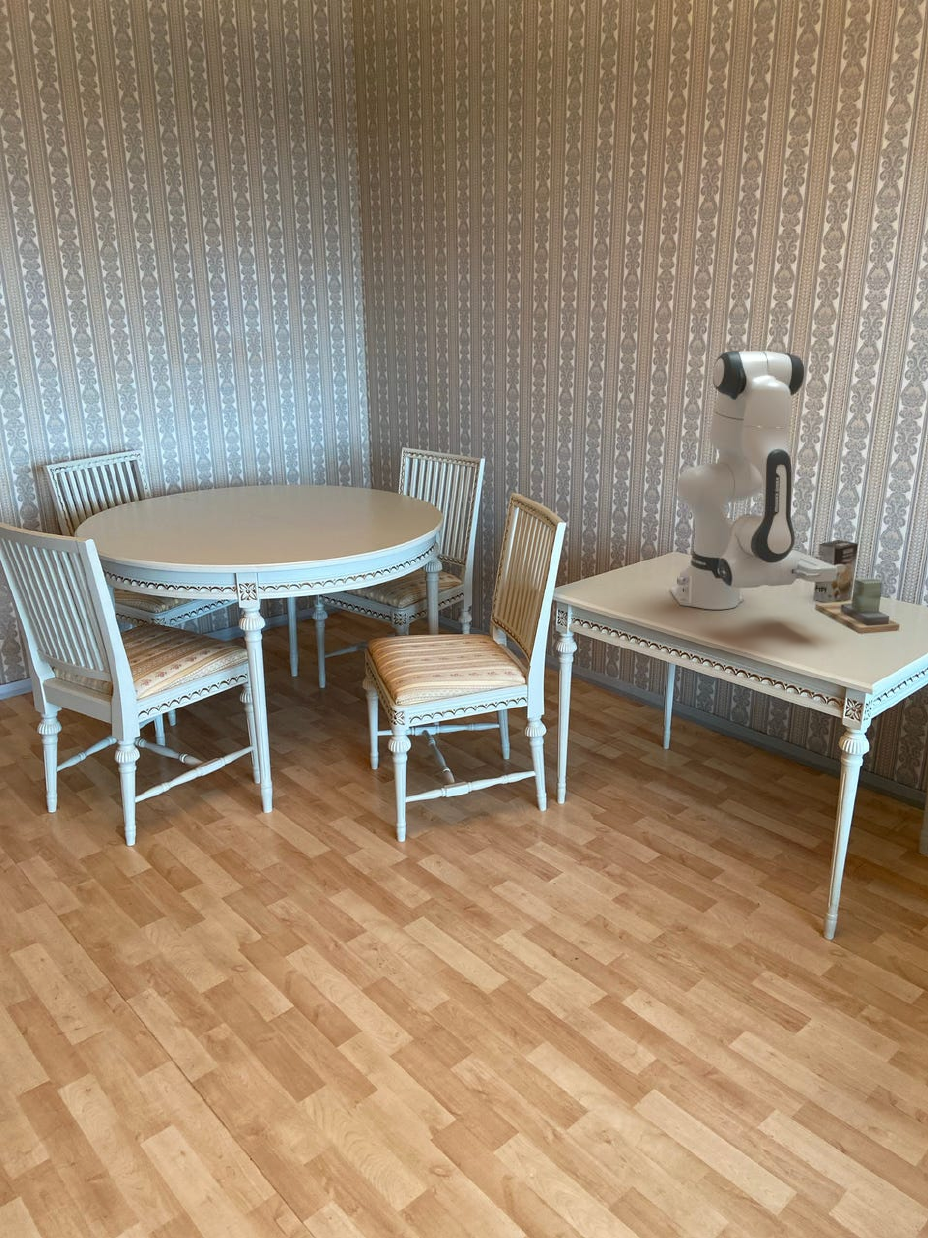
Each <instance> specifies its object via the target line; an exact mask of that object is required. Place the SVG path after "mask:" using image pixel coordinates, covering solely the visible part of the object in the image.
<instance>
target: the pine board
mask: <svg viewBox="0 0 928 1238" xmlns="http://www.w3.org/2000/svg"><path fill="white" fill-rule="evenodd" d="M841 604H852V600H845V601H841V602H831V603H825V602H818V603H815V606H814V609H815V610H816V611H818V612H820V613H822V614H824V615H825V616H827V617H828V618H831V619H833V620H835V621H836V622H838V623H840V624H842V625H844V626H846V627H848V628H850V629H851V630H853V631H855V632H856V633H857V634H870V633H880V632H889V631H888V630H893V631H897V630H896V629H899V630H900V626H901V625H900V623H898V622H895V621H893V620H891V619H890V618H889V623H888V624H881V625H869V626H867V625H865V624H863V623H861V622H859V621H857V620H855V619H854V618H852V617H850V616H848V615H846V614H844V613H842V612H840V611H841Z"/></svg>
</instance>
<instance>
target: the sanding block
mask: <svg viewBox="0 0 928 1238" xmlns="http://www.w3.org/2000/svg"><path fill="white" fill-rule="evenodd" d="M882 589H883V581H880V580H878V579H876V578H874V577H863V578H861V577H860V578H855V579H854V580H853V588H852V596H851V601H852V604H841V611H840V612H842V613H844V614H846V615H848V616H850V617H852V618H854V619H855V620H857V621H859V622H861V623H863V624H865V625H867V626H869V625H881V624H888V623H889V619H890V616H889V615H888V614H885V613H884V612H882V611H880V604H881V598H882V597H881V596H882Z"/></svg>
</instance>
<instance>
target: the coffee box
mask: <svg viewBox="0 0 928 1238" xmlns="http://www.w3.org/2000/svg"><path fill="white" fill-rule="evenodd" d="M858 546H859V543H857V542H851V541H845V540H842V539H841V540H840V539H837V540H831V541H828V542H823V543H819V546H818V553H817V556H822V557H824V562H826V563H829V564H832V565H836V564H843V565H845V571H844V572H839V573H837V578H836V580H834V581H827V582H814V590H813V597H812V599H813V600H814V601H819V602H821V603H831V602H843V601H849V600H852V596H853V588H854V580H855V579H854V578H855V569H856V560H857V555H858Z"/></svg>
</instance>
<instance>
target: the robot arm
mask: <svg viewBox="0 0 928 1238" xmlns="http://www.w3.org/2000/svg"><path fill="white" fill-rule="evenodd" d="M804 379H805V365H804V363H803V360H802V358H800V356H798V355H796V354H792V353H788V352H786V353H785V352H784V353H782V352H776V351H767V350H760V351H759V350H757V351H755V350H752V351H750V350H749V351H747V350H746V351H738V350H729V351H726V352H722V353H721V354H720V355H719V356H718V357H717V359H716V361H715V363H714V367H713V371H712V383H713V386H714V388H715V389H716V390H717V391H718V395H717V398H716V402H715V406H714V409H713V410H714V411H713V416H712V420H711V424H710V430H709V434H708V439H709V441H710V443H711V445H712V446H713V447H714V448H715V449H717V450H718V461H717V462H715V463H705V464H698V465H696V466H692V467H690V468H687V469H685V470H683V471H682V472H681V473H680V475H679V477H678V479H677V482H676V489H677V490H676V491H677V494H678V497H679V498H680V500H681V502H683V503H684V504H685V505H686V506H687V507H688V508H689V510H690V511H691V513H692V515H693V520H694V525H695V542H694V543H695V544H694V551H691V553H692V554H691V560H690V564H689V565H688V566H687V567H685V568H684V569H683V570H682V571H681V572H680V573H679V576H678V577H677V578H676V584H677V585H674V586H671V587H670V588H669V591H670V593H671V594H672V596H673V597H674V598H675V600H676V601H677V602H678V604H679V605H680V606H685V607H694V608H697V609H699V608H700V609H705V610H729V609H733V608H735V607H737V606H739V605H740V603H742V602H744V600H745V598H744V596H743V595H741V589H752V588H760V587H762V586H768V587H777V586H778V587H779V586H786V585H787V586H789V585H792V584H794V583H795V581H796V580H797V579H798V578H799V579H801V580H803V581H806V582H809V583H810V582H812V583H815V582H827V581H834V580H836V578H837V573H839V572H844V571H845V565H843V564H836V565H832V564H829V563H826V562H824V557H822V556H818V555H809V554H805V553H803V552H800V551H798V550H794V549H793V548H794V546H795V541H796V540H795V539H796V536H795V531H794V528H793V527H794V526H793V524H792V516H791V511H792V506H791V505H792V476H793V475H792V462H791V457H790V433H791V426H792V425H791V423H792V397H791V396H794V395H796V393H797V392H798V391H800V389H801V388H802V385H803V383H804ZM762 488H763V492H762V493H763V494H762V496H763V498H762V515H758V514H753V513H745V514H742V515H741V516H739V517H738V518H737V519H736V520H735V521H734V520H733V519H731V518H729V517H728V515H727V512H726V504H730V503H739V502H744V501H746V500H748V499H751V498H753V497H755V496H757V495H758V494H760V493H761V491H762Z"/></svg>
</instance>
